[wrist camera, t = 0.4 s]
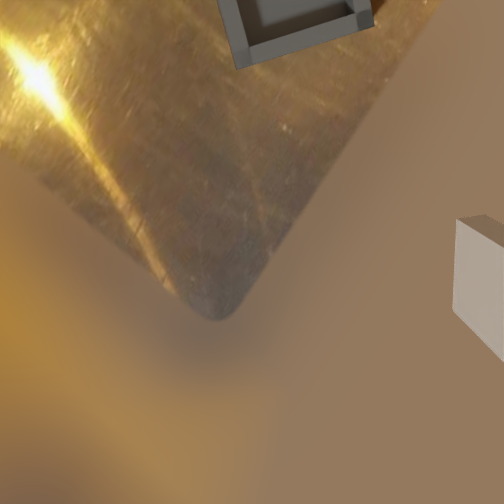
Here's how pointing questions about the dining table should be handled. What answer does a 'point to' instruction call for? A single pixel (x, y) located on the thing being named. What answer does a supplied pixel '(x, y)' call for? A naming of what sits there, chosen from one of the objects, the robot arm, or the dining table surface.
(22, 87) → the dining table surface
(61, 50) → the dining table surface
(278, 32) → the tray
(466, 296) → the robot arm
